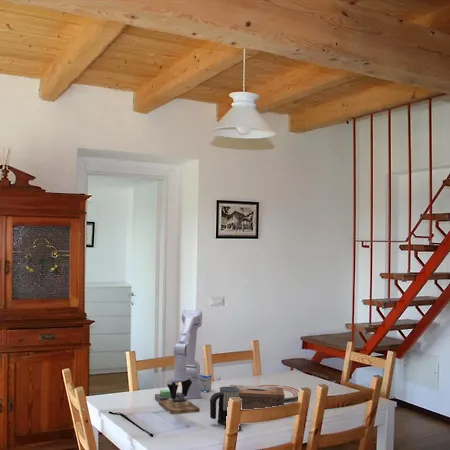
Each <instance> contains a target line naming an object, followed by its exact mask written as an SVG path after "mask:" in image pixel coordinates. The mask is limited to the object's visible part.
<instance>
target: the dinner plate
mask: <svg viewBox="0 0 450 450" xmlns="http://www.w3.org/2000/svg"><path fill="white" fill-rule="evenodd" d="M256 386H260V387H278V388H283V391H284V395H285V396H284V401H288V400H291V399H294V398H297V397H299V396H298V392H299V390H300V389H299V388H297V387H293V386H291V385H290V386H289V385H286V384H285V385H283V384H272V383H271V384H266V383H265V384H259V385H258V384H257V385H256Z"/></svg>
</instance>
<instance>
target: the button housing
mask: <svg viewBox="0 0 450 450" xmlns="http://www.w3.org/2000/svg"><path fill="white" fill-rule="evenodd" d="M168 399H171V394H170V397H162V396H160V393H155V394H154V400H155V401H156V402H158V403H159V401H163V400H168Z"/></svg>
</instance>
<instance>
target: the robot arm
mask: <svg viewBox="0 0 450 450" xmlns="http://www.w3.org/2000/svg"><path fill="white" fill-rule="evenodd" d="M181 322H182V324H183V327H182V331H181V332H180V333H179V335H178V338H177V341H176V343H174V345H173V359H174V368H173V369H174V370H173V376H172V378H169V379H167V385H166V386H167V387H168V390H169V391H170V394H171V399H176V393H178V388H179V385H178V384H179V383H181V393H183V394H185V396H184V398H185V399H187V400H188V399H199V398H200V399H201V398H202V396H201V395H202V394H201V393H202V392H201V381H200V379H198V378H199V375H200V374H201V367H200V363H199V362H198V361H197V360H196V351H197V348H196V347H197V337H198V336H197V335H198V328H200V327H202V323H203V311H202V310H192V309H190V310H189V309H183V310H182V312H181Z"/></svg>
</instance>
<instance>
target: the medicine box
mask: <svg viewBox="0 0 450 450" xmlns="http://www.w3.org/2000/svg"><path fill="white" fill-rule="evenodd" d="M212 376H213V375H211V374H206V373H200V375H199V378H198V379H200V381H201V391H206V392H205V393H208V392H207V391H210V390H211V391H212ZM211 391H210V392H211Z"/></svg>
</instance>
